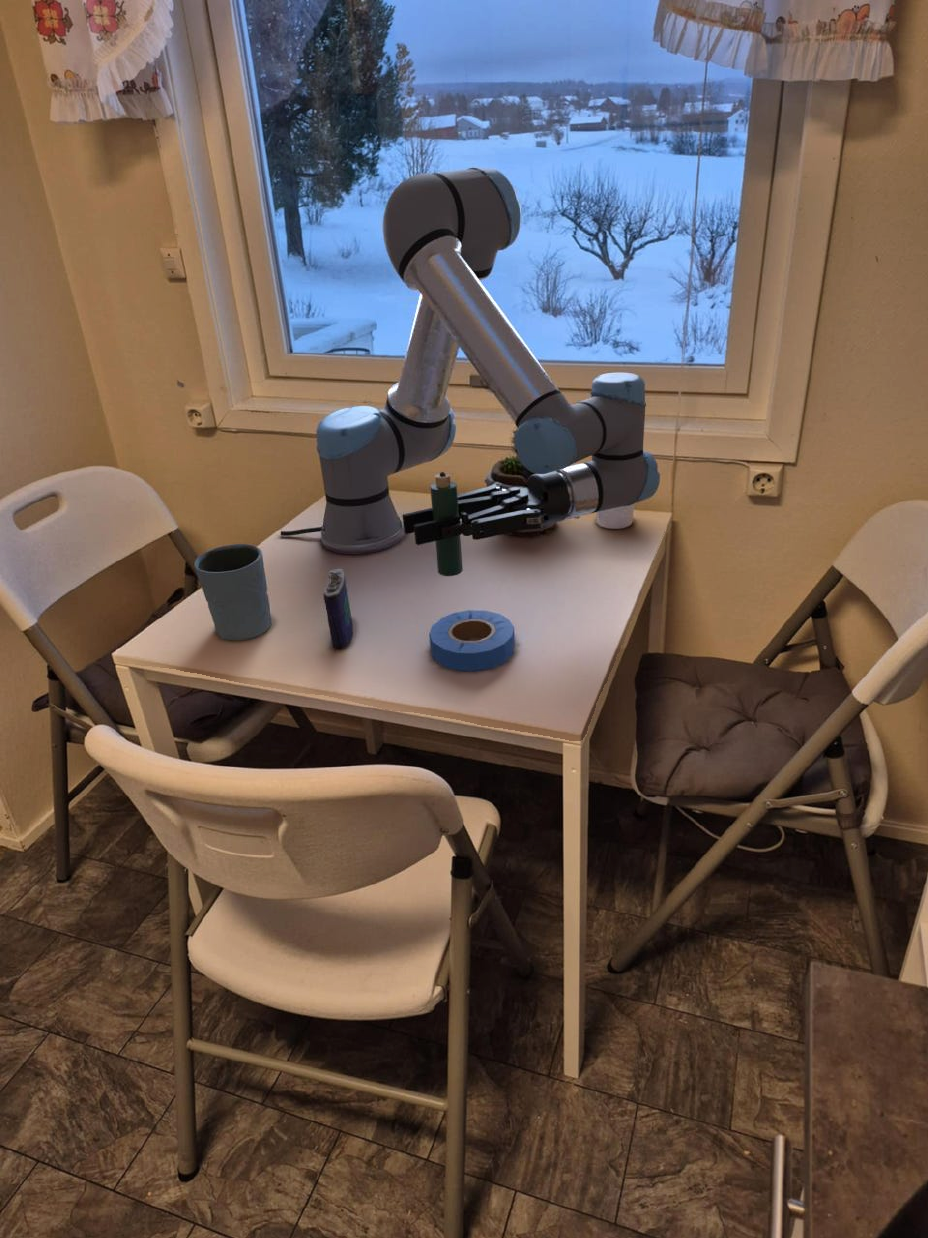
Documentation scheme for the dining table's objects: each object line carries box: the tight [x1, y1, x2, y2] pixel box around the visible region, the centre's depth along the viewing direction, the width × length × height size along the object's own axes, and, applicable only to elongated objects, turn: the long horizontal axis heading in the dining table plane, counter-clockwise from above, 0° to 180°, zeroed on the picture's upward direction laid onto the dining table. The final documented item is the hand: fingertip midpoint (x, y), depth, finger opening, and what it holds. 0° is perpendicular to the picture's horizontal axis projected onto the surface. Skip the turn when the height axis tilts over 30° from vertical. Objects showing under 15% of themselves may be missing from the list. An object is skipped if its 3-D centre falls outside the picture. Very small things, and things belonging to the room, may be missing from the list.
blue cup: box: [194, 543, 272, 642], centre depth 131 cm, size 10×10×12 cm
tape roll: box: [429, 609, 516, 672], centre depth 123 cm, size 12×12×3 cm
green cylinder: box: [429, 471, 464, 577], centre depth 119 cm, size 4×4×15 cm
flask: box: [322, 568, 354, 651], centre depth 127 cm, size 9×3×11 cm, turn 1°
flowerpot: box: [484, 426, 558, 537], centre depth 156 cm, size 14×15×20 cm
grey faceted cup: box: [595, 503, 636, 530], centre depth 157 cm, size 8×8×10 cm
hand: (410, 529), depth 117 cm, fingers closed on green cylinder, 4 cm apart
